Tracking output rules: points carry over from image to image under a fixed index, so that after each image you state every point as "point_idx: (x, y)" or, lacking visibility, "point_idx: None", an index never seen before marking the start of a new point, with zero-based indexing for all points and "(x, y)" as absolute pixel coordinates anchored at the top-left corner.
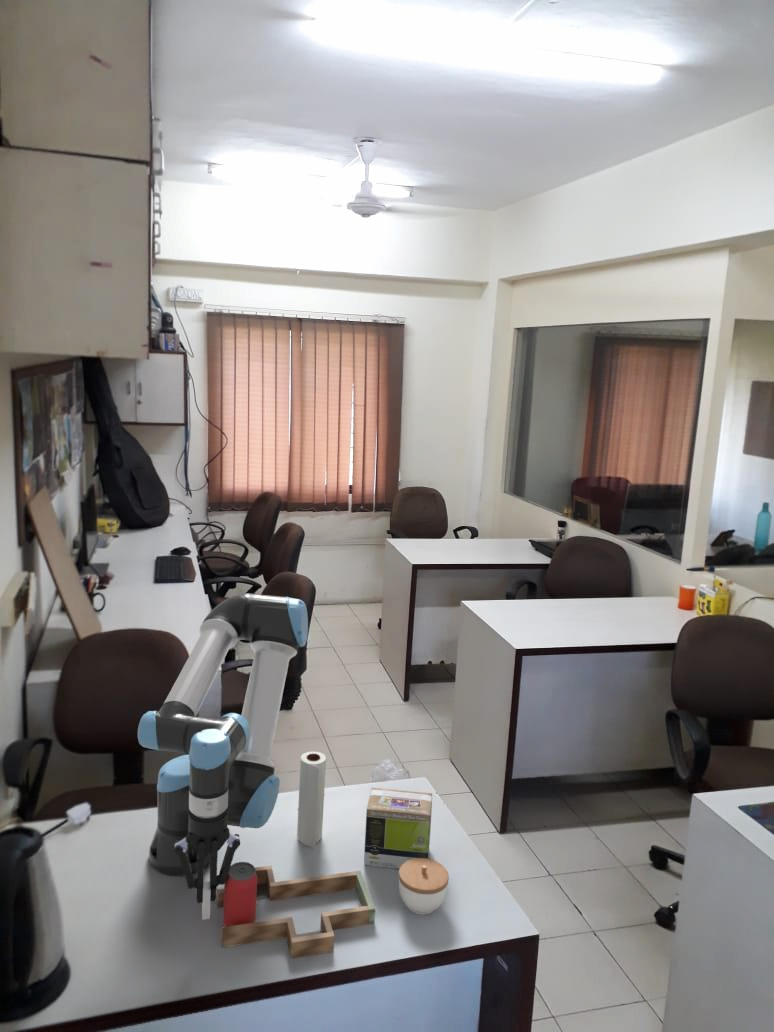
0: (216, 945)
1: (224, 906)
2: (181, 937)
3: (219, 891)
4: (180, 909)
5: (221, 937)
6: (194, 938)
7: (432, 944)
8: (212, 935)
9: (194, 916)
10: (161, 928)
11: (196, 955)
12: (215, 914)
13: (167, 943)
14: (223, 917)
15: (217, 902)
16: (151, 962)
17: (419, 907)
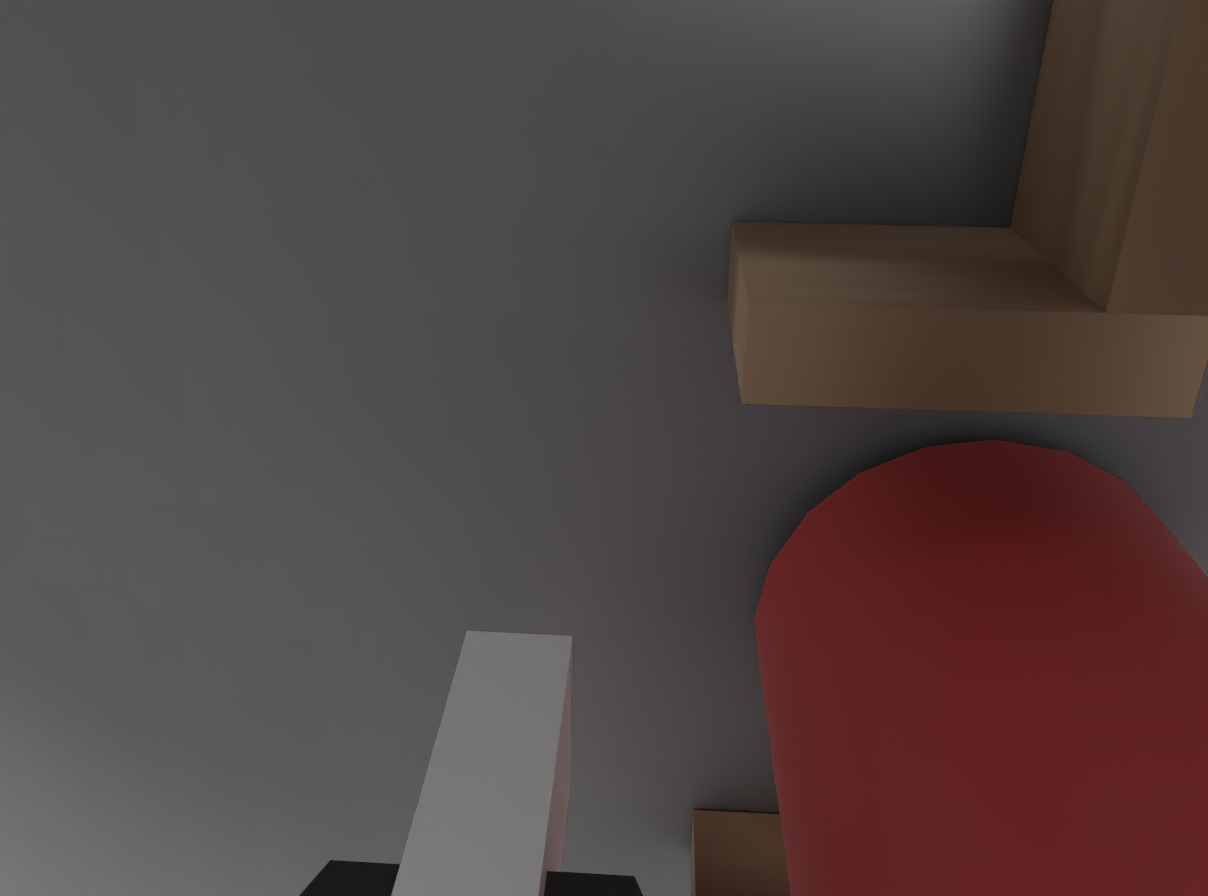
0: (642, 821)
1: (785, 850)
2: (280, 656)
3: (781, 356)
4: (207, 202)
5: (694, 876)
6: (420, 697)
7: None
8: (614, 703)
9: (410, 381)
10: (27, 485)
11: None
12: (685, 407)
13: (144, 695)
14: (762, 680)
15: (732, 324)
16: (42, 853)
17: None
